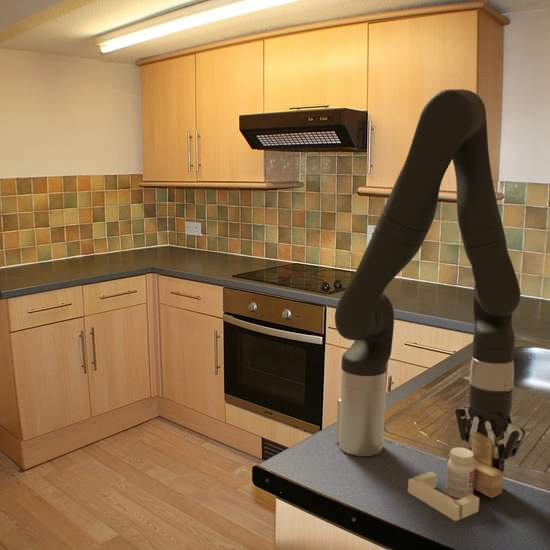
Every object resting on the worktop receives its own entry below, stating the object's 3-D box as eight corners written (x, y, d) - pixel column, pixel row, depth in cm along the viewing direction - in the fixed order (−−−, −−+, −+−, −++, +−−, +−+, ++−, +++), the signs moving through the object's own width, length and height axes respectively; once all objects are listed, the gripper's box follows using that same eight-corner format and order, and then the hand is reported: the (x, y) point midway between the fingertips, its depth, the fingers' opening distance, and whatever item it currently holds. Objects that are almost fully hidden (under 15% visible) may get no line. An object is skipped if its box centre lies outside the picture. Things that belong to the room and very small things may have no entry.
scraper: (446, 474, 114) (448, 429, 112) (470, 465, 118) (473, 421, 116) (491, 497, 106) (494, 449, 104) (515, 487, 109) (519, 440, 108)
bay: (407, 492, 110) (408, 479, 109) (430, 483, 113) (430, 471, 112) (455, 521, 101) (456, 507, 100) (478, 511, 104) (479, 498, 103)
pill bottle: (474, 504, 106) (477, 460, 104) (445, 501, 107) (448, 456, 105) (471, 491, 110) (474, 447, 109) (444, 487, 111) (447, 445, 110)
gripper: (446, 375, 113) (442, 460, 116) (512, 398, 101) (506, 492, 104) (472, 367, 117) (467, 450, 120) (539, 389, 105) (532, 480, 108)
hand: (485, 469), depth 112 cm, fingers closed on scraper, 4 cm apart
